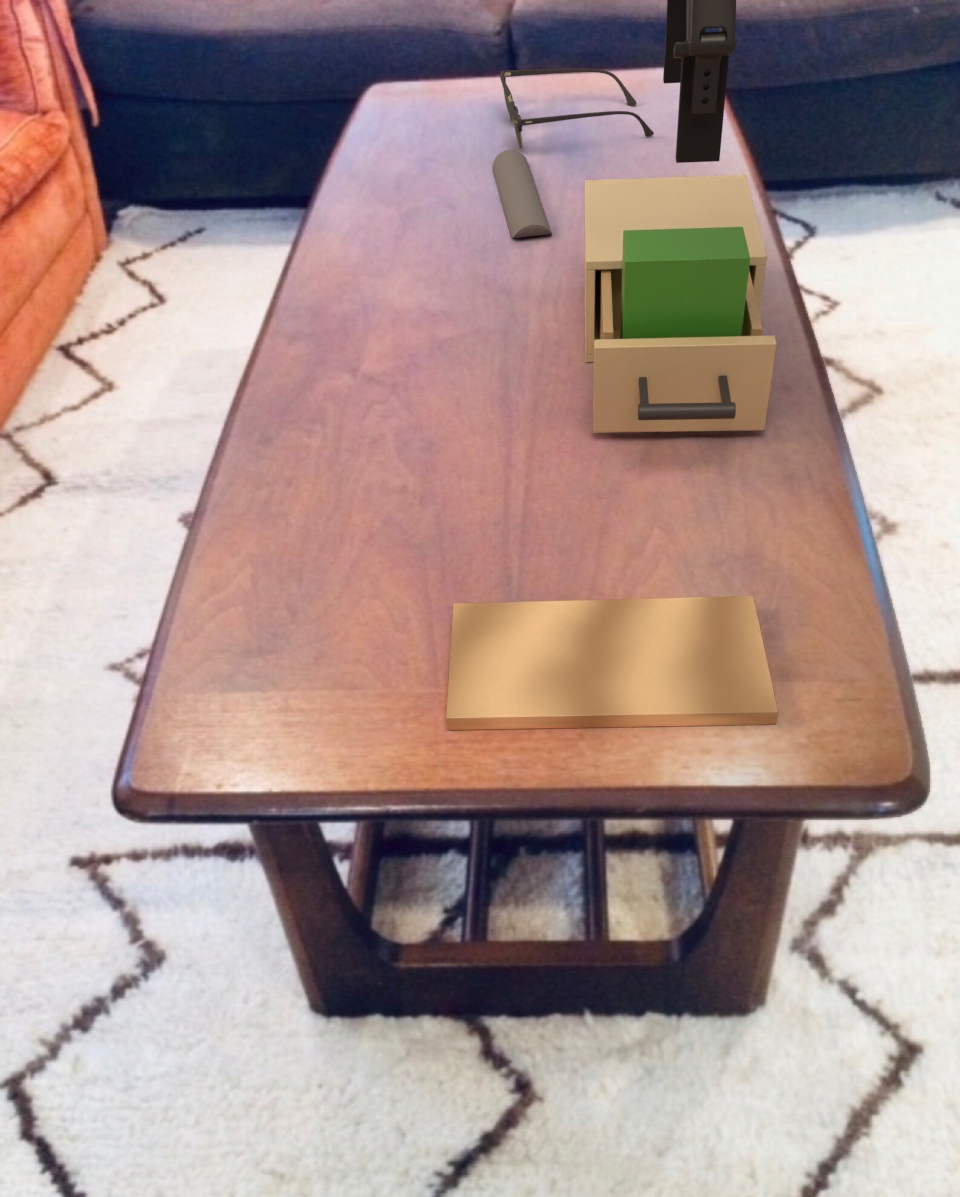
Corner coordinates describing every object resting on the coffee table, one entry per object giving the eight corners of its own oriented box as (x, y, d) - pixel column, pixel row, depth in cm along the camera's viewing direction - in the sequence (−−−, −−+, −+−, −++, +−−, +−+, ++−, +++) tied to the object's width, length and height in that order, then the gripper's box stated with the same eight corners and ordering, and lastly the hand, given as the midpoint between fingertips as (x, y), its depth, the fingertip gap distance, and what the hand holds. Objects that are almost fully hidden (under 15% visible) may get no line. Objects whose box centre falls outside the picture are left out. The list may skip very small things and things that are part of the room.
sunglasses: (659, 147, 128) (661, 103, 125) (516, 162, 128) (514, 118, 124) (631, 96, 140) (632, 54, 136) (499, 110, 139) (497, 69, 136)
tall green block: (734, 397, 88) (750, 257, 79) (620, 399, 89) (625, 261, 80) (728, 363, 91) (743, 226, 83) (619, 365, 92) (623, 230, 84)
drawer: (772, 468, 83) (785, 379, 77) (594, 470, 84) (595, 383, 78) (744, 333, 96) (754, 250, 91) (591, 336, 98) (592, 255, 92)
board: (751, 608, 74) (753, 595, 73) (775, 724, 66) (778, 711, 66) (454, 615, 75) (453, 603, 74) (447, 730, 68) (445, 718, 67)
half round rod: (512, 243, 113) (511, 227, 112) (491, 166, 127) (490, 151, 126) (553, 239, 113) (553, 222, 112) (527, 162, 127) (527, 147, 126)
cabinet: (754, 359, 95) (767, 256, 88) (585, 362, 96) (585, 261, 90) (735, 271, 106) (746, 174, 99) (584, 275, 107) (584, 179, 101)
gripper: (638, -302, 69) (627, 55, 84) (660, -236, 51) (641, 201, 66) (759, -310, 68) (727, 51, 83) (824, -247, 51) (768, 197, 66)
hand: (689, 118), depth 75 cm, fingers open, 13 cm apart
